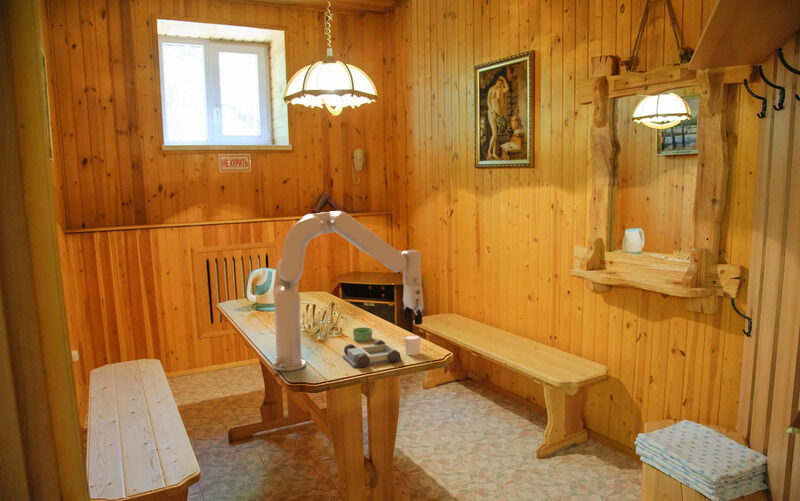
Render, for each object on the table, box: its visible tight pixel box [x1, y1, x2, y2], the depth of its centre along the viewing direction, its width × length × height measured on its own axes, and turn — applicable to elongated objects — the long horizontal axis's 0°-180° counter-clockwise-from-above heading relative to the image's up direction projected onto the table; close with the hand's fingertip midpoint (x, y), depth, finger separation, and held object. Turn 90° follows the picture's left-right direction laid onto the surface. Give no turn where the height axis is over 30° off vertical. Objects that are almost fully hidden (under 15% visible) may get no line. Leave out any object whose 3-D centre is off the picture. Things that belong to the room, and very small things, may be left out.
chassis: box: [342, 339, 402, 369], centre depth 222 cm, size 20×17×5 cm
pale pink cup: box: [403, 334, 421, 356], centre depth 229 cm, size 7×7×7 cm
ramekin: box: [352, 326, 373, 343], centre depth 250 cm, size 9×9×4 cm
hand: (413, 321), depth 227 cm, fingers open, 9 cm apart
